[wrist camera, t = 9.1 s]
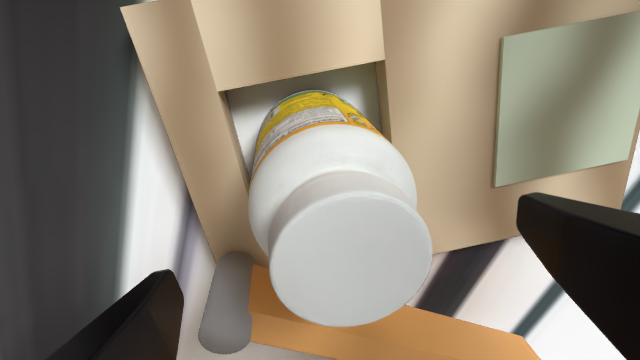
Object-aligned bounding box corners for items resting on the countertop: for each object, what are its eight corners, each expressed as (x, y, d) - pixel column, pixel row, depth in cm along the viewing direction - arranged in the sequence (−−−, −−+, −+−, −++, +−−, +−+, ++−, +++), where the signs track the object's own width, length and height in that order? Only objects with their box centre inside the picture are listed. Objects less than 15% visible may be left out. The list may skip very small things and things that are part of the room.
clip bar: (210, 278, 17) (192, 348, 13) (223, 247, 16) (206, 311, 12) (501, 350, 22) (548, 416, 18) (519, 329, 21) (571, 392, 17)
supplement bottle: (242, 106, 16) (197, 201, 7) (353, 74, 16) (451, 128, 7) (277, 204, 18) (278, 369, 9) (374, 176, 18) (468, 315, 9)
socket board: (651, -84, 14) (699, -99, 13) (594, 201, 20) (622, 216, 18) (136, 10, 13) (117, 6, 12) (232, 278, 19) (228, 301, 18)
